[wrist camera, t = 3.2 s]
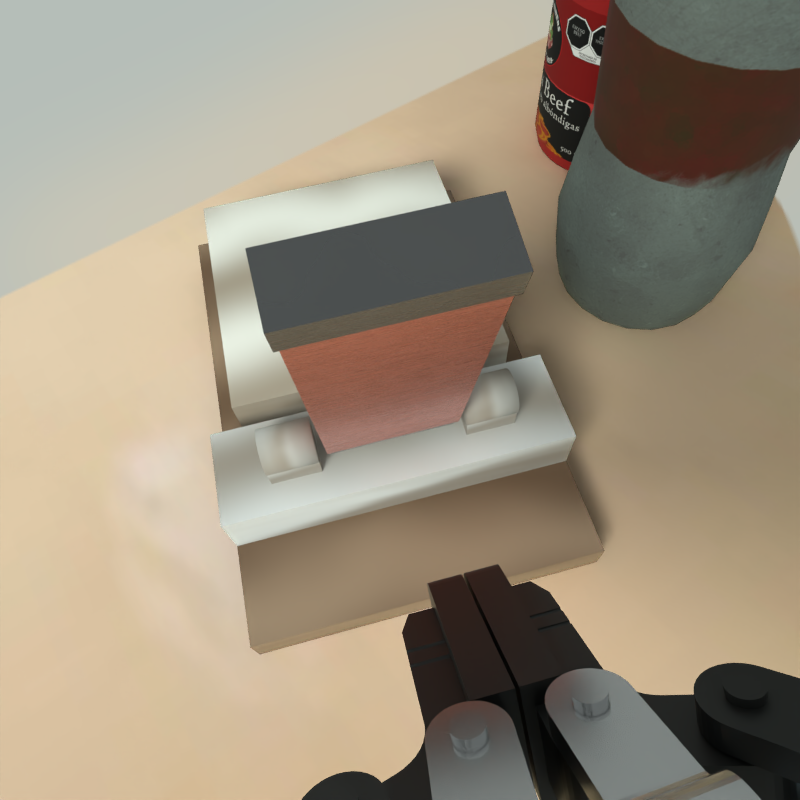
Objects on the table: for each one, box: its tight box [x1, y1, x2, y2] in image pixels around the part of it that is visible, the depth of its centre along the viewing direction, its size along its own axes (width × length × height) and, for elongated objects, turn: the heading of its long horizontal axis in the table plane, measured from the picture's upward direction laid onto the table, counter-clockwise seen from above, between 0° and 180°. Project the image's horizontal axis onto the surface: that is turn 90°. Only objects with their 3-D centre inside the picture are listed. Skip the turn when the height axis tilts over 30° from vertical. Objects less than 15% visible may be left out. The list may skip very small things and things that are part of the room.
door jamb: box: [198, 160, 604, 654], centre depth 29 cm, size 21×14×6 cm, turn 14°
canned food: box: [535, 0, 610, 170], centre depth 35 cm, size 8×8×11 cm
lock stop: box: [245, 191, 533, 454], centre depth 19 cm, size 2×5×14 cm, turn 104°
